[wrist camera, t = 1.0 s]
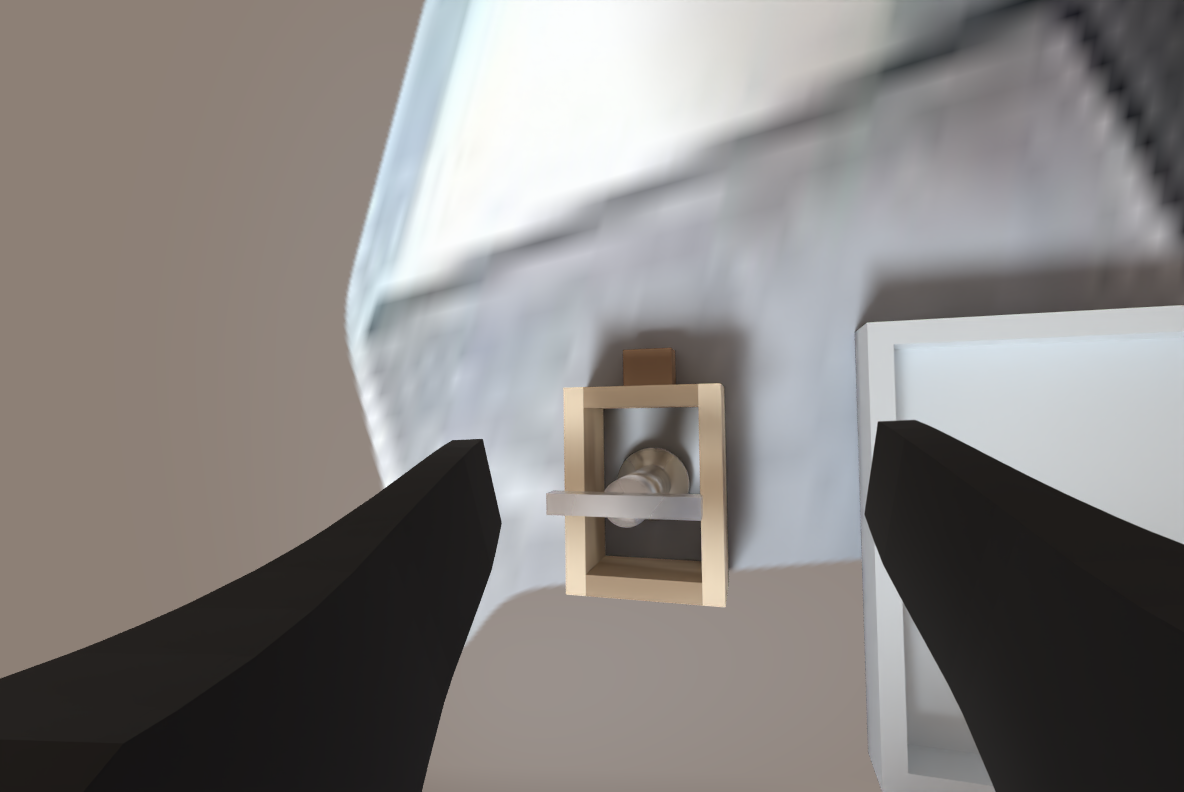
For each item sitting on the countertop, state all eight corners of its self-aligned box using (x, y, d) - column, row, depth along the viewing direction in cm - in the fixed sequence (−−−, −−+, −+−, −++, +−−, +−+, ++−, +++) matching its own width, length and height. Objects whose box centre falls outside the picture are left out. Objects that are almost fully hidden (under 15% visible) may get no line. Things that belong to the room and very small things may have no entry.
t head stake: (714, 520, 23) (701, 559, 17) (598, 515, 24) (546, 550, 18) (713, 447, 23) (699, 459, 17) (597, 447, 24) (546, 458, 18)
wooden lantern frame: (728, 582, 22) (725, 607, 20) (588, 572, 24) (565, 594, 21) (723, 348, 23) (719, 339, 20) (585, 355, 24) (563, 347, 22)
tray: (1457, 835, 16) (1572, 904, 14) (867, 751, 21) (882, 794, 19) (1420, 303, 17) (1524, 286, 15) (854, 332, 21) (867, 322, 19)
